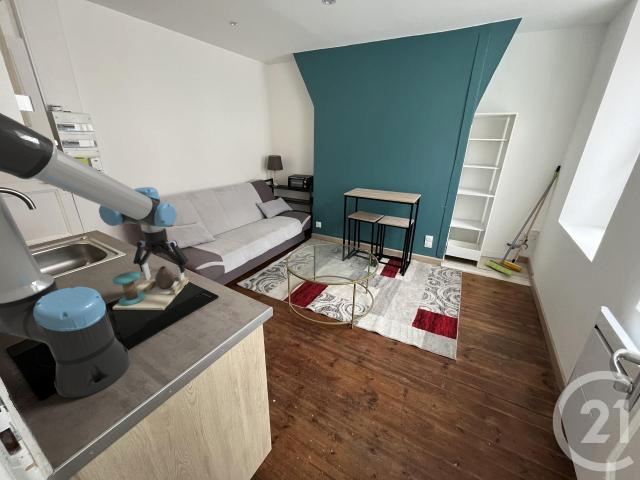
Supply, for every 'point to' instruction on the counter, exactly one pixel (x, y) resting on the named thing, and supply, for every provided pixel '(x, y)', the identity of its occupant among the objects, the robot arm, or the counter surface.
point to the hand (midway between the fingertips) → (165, 279)
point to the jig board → (145, 293)
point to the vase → (164, 278)
